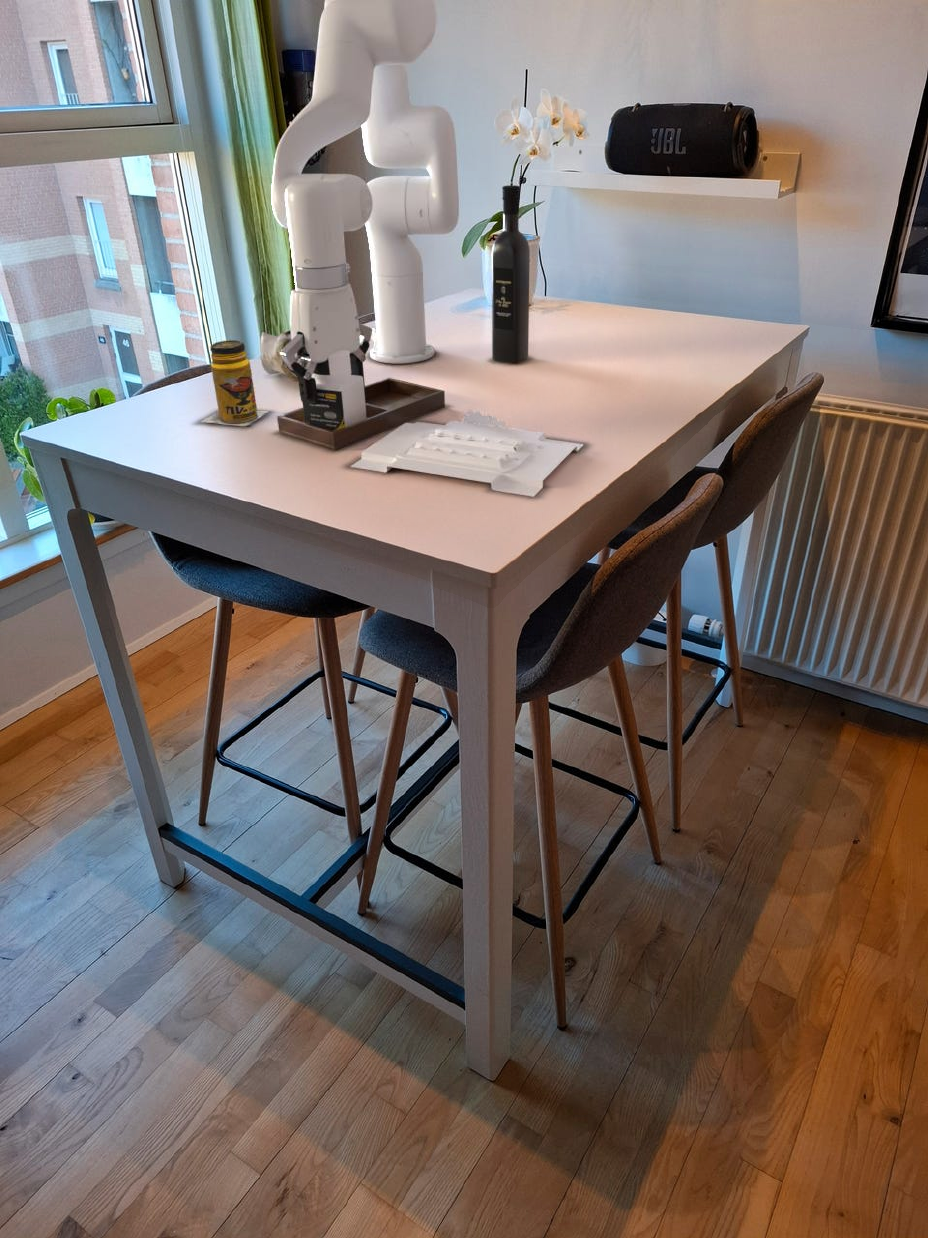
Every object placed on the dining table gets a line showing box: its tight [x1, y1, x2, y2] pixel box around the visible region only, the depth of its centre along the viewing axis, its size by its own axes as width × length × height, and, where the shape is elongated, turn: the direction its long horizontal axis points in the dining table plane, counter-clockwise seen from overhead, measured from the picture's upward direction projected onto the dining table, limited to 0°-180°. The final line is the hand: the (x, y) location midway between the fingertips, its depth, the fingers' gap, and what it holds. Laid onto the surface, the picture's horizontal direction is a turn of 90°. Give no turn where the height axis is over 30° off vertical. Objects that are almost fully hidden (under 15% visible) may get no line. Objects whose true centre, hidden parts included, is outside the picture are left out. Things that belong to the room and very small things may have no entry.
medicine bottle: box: [301, 350, 367, 431], centre depth 135 cm, size 7×7×12 cm
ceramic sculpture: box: [259, 329, 308, 383], centre depth 161 cm, size 11×9×15 cm
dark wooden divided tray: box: [276, 377, 446, 451], centre depth 141 cm, size 13×25×3 cm, turn 140°
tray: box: [349, 410, 584, 498], centre depth 127 cm, size 20×28×4 cm
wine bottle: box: [491, 184, 531, 364], centre depth 162 cm, size 6×6×30 cm
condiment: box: [200, 339, 269, 427], centre depth 141 cm, size 7×8×12 cm
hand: (333, 394), depth 135 cm, fingers open, 9 cm apart
